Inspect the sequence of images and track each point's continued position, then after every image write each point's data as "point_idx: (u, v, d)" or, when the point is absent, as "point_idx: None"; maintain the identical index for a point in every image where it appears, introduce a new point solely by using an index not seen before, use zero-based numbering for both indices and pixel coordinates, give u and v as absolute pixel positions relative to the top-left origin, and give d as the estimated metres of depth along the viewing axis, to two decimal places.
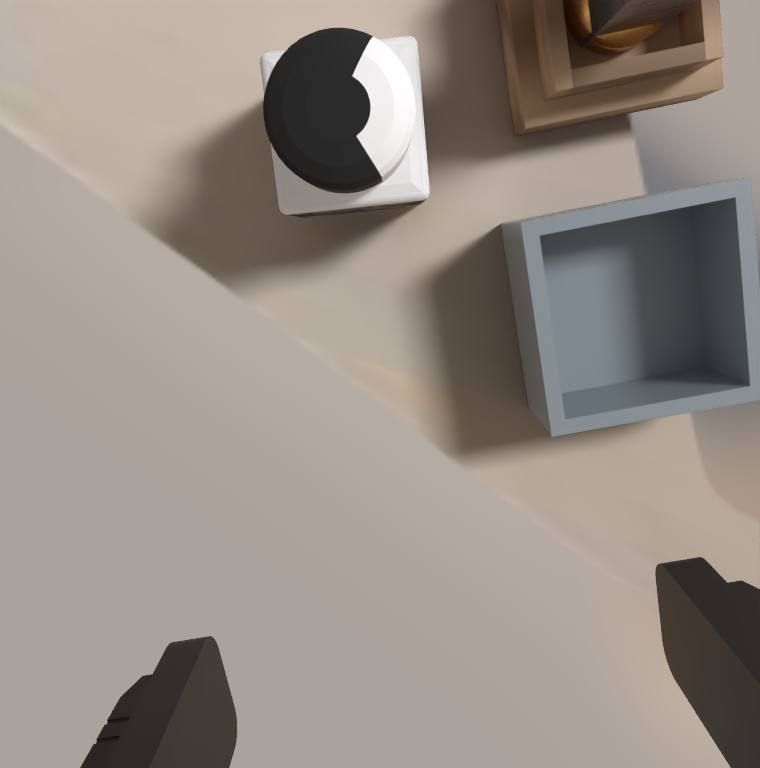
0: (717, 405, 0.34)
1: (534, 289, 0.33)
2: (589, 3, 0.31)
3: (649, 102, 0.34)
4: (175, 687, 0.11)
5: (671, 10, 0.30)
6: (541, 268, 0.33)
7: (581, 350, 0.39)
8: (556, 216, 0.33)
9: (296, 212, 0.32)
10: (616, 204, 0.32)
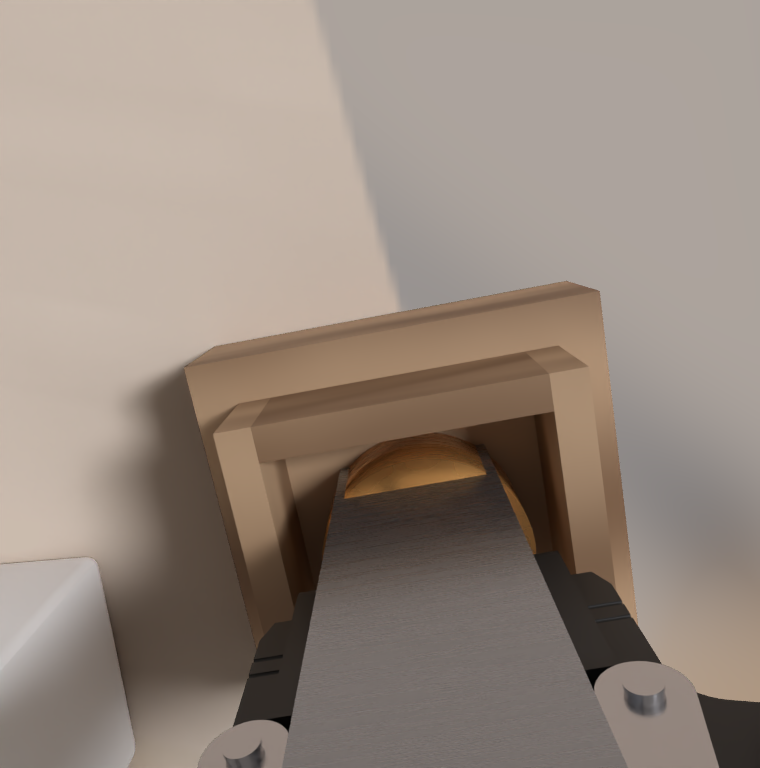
0: None
1: None
2: None
3: None
4: None
5: None
6: None
7: None
8: None
9: None
10: None
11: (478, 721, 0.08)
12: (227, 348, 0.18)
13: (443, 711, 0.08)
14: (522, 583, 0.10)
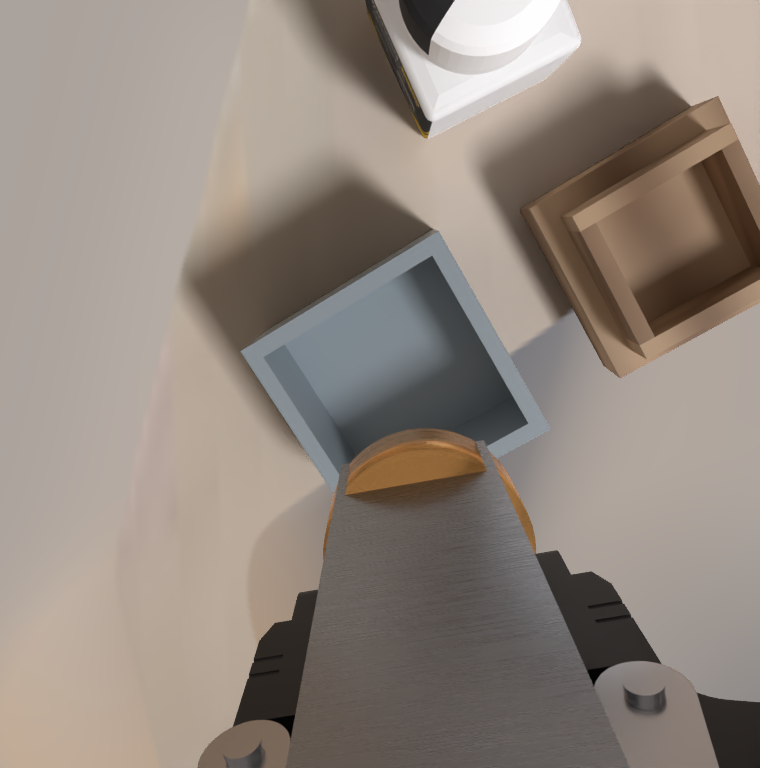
0: None
1: (378, 272, 0.32)
2: None
3: (588, 317, 0.35)
4: None
5: None
6: (401, 270, 0.31)
7: (340, 356, 0.38)
8: (456, 264, 0.31)
9: None
10: (486, 317, 0.32)
11: (480, 716, 0.08)
12: None
13: (445, 706, 0.08)
14: (523, 579, 0.10)
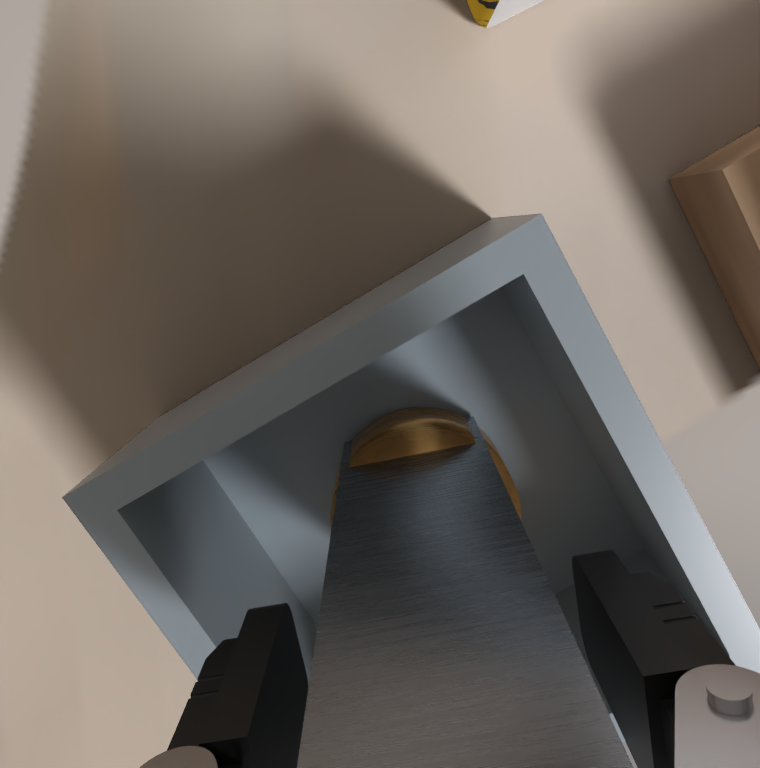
0: None
1: (391, 314, 0.13)
2: None
3: None
4: (263, 647, 0.11)
5: None
6: (446, 310, 0.13)
7: (306, 471, 0.19)
8: (581, 296, 0.13)
9: None
10: (647, 422, 0.13)
11: (467, 634, 0.09)
12: None
13: (439, 627, 0.10)
14: (505, 530, 0.12)
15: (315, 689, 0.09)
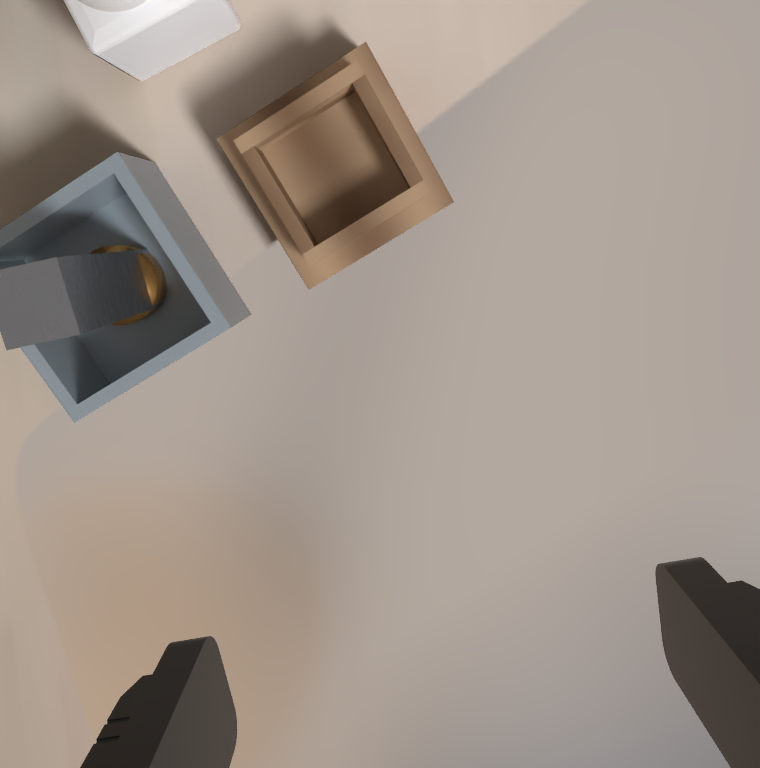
0: (50, 386, 0.39)
1: (69, 188, 0.37)
2: None
3: (276, 235, 0.40)
4: (175, 687, 0.11)
5: None
6: (88, 186, 0.37)
7: None
8: (134, 181, 0.36)
9: None
10: (165, 228, 0.37)
11: None
12: None
13: None
14: None
15: None
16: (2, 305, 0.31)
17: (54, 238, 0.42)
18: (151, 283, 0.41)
